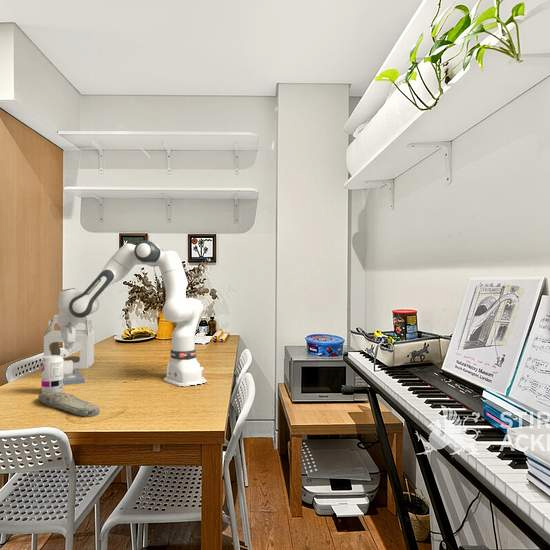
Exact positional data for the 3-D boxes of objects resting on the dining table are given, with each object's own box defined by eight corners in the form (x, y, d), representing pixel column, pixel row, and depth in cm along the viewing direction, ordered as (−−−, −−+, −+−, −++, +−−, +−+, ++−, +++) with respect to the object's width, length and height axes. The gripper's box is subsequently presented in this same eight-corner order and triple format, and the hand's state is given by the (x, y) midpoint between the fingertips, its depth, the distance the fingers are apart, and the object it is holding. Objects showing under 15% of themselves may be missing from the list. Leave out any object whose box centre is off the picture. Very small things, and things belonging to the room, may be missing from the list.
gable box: (42, 369, 221) (43, 315, 221) (52, 364, 234) (52, 313, 234) (87, 368, 224) (88, 315, 224) (94, 363, 237) (95, 313, 237)
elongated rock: (81, 424, 148) (106, 418, 156) (83, 409, 148) (108, 403, 156) (29, 401, 167) (54, 396, 175) (31, 387, 167) (55, 383, 175)
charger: (72, 377, 206) (72, 361, 206) (63, 378, 204) (63, 362, 204) (71, 375, 210) (71, 360, 210) (62, 376, 207) (62, 360, 207)
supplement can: (39, 395, 176) (39, 359, 176) (44, 389, 184) (44, 355, 184) (60, 393, 178) (61, 358, 178) (64, 388, 186) (65, 354, 186)
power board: (84, 382, 196) (84, 377, 196) (60, 385, 191) (60, 380, 191) (76, 372, 215) (76, 368, 215) (54, 375, 209) (54, 370, 209)
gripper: (78, 323, 200) (78, 352, 200) (72, 319, 217) (72, 346, 217) (64, 324, 196) (64, 354, 196) (58, 320, 213) (58, 347, 213)
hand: (68, 350), depth 206 cm, fingers open, 8 cm apart
